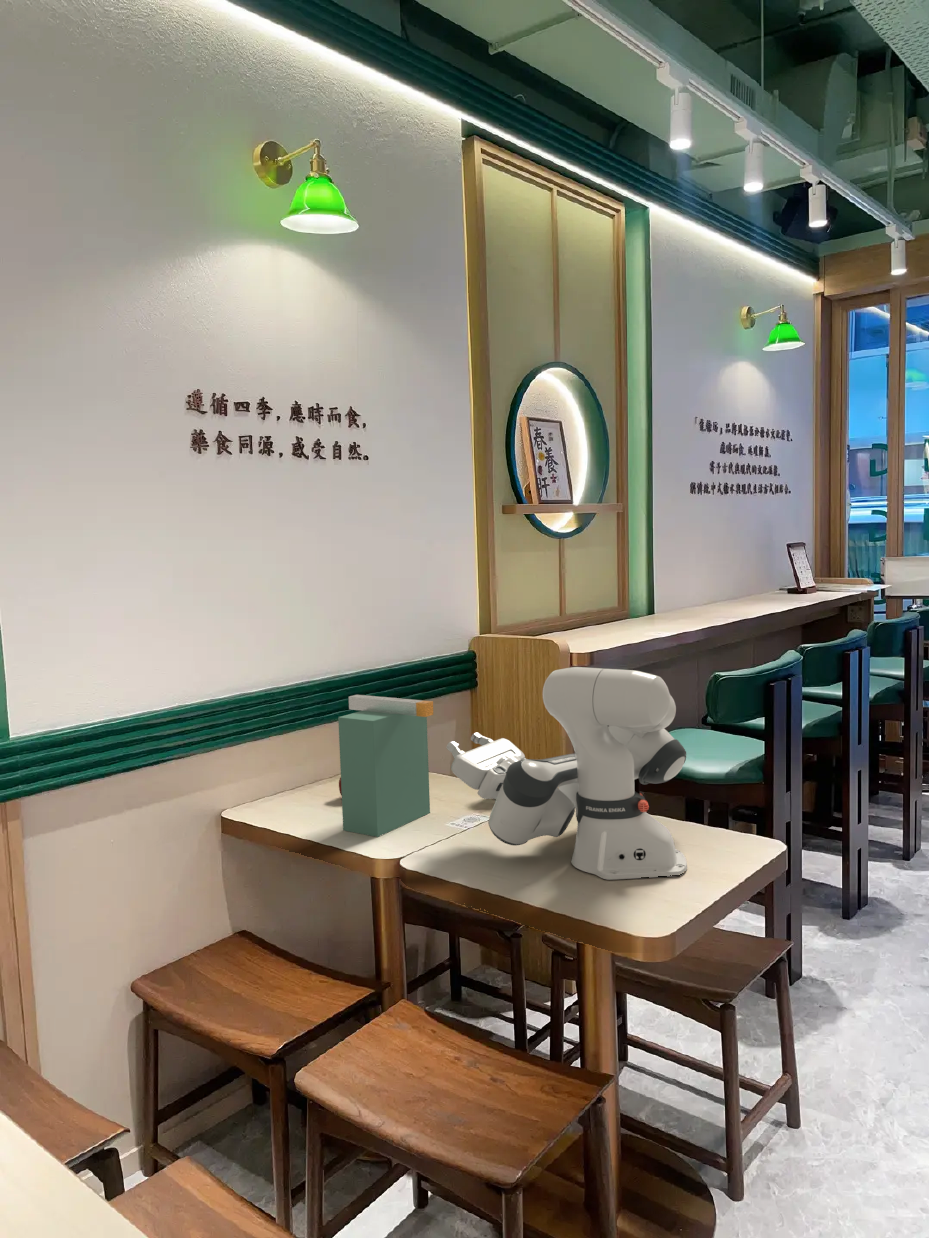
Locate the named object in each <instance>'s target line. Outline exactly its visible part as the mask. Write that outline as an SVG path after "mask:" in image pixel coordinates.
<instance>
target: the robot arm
mask: <svg viewBox="0 0 929 1238" xmlns="http://www.w3.org/2000/svg"><path fill="white" fill-rule="evenodd" d="M542 687H543V688H542V701H543V705H544V707H545V709H546V711H547V712H548V713H549V715H550V716H552V717H553V718H554V719H555V720H557V722H559V724H560V726H561V727H563V730H565V732H566V735H567V736H568V737H569V740H570V741H571V745H572V746H573V750H574V753H569V754H568V753H567V754H561V755H556V756H553V757H546V758H542V759H541V758H540V759H532V758H531V759H530V758H529V759H528V758H526V756H525V753H524V752H523V751H522V750H521V749H519V748H518V746H516V745H515V744H514V743H513V742H512V741H511V740H509V739H507V738H504V737H501V738H498V739H496V740H493V739H492V738H490V737H486V736H484V735H482V734H481V733H479V732H474V733H472V735H471V736H470V740H471V741H472V742H473V743H474V744H479V745H480V746H477V747H476V748H473V749H470V750H468V751H464V750H461V749H460V748H459V745H460V744H459V743H457V742H456V741H454V740H452V741H449V742H448V743H447V745H446V749H447V750H448V751H449V752H450V753H451V754H452V757H453V761H452V764H451V765H450V769H451V772H452V774H453V775H455V776H456V777H457V778H458V779H459V780H460V781H461V782H463V783H464V784H465V785H467V786H468V787H470V788H471V789H474V790H477V795H478V796H479V797H480V798H482V799H487V800H489V799H490V800H491V799H494V798H496V799H495V802H494V804H493V807H492V809H491V812H490V814H489V818H488V827H489V830H490V831H491V833H492V834H493V836H494V837H495V838H497V839H498V841H501V842H502V843H504V844H507V845H509V846H520V845H521V846H522V845H524V844H527V843H528V842H529V841H531V840H532V839H536V838H540V837H543V836H544V837H546V836H549V837H553V838H558V837H560V836H562V835H563V834H564V833H565V831H566V830H567V828H568V827H569V824H570V823H571V822H572V819H573V818H574V815H575V818H576V821H577V826H576V827H577V828H576V836H575V844H574V850H573V854H572V857H571V864H572V866H573V867H574V868H576V869H578V870H580V871H582V872H586V873H589V874H592V875H596V876H598V877H599V878H601V879H602V880H603V879H604V880H608V881H609V880H610V881H614V880H626V879H627V880H629V879H642V878H641V877H649V878H659V877H658V876H667V877H673V876H672V875H679V874H682V873H683V872H684V871H686V872H687V870H688V863H687V862H688V861H687V858H686V856H685V855H684V853H683V852H682V851H681V850H679V849H677V848H676V845H675V840H674V838H673V835H672V833H671V832H670V830H669V828H668V827H667V826H666V825H664V824H663V823H661V821H659V820H658V819H656V818H654V817H653V815H651V814H650V813H647V812H648V810H649V808H650V806H649V802H648V801H647V800H646V798H645V796H643V793H641V792H639V793H638V792H637V791H635V780H637V779H638V781H639V783H640V784H642V785H648V784H655V785H656V784H662V783H667V782H669V781H670V780H672V779H673V778H674V777H676V776H677V775H678V774H679V773H680V772H681V770H682V769H683V767H684V765H685V764H686V763H685V762H686V760H687V751H686V749H685V747H684V746H683V744H682V743H681V742H680V741H679V740H678V739H676V738H674V737H673V735H672V734H671V733H669V731H668V730H667V729H666V728H667V727H669V726H670V725H671V724H672V723H673V721H674V719H675V717H676V712H677V706H676V702H675V699H674V698H673V696H672V695H671V693H670V690H669V687H668V685H667V684H666V682H665V681H664V679H663V678H662V677H661V676H659V675H656V674H653V673H648V672H644V671H640V670H635V669H634V670H633V669H619V668H599V667H584V666H583V667H581V666H573V667H572V666H571V667H566V668H561V669H556V670H555V669H554V670H553V671H552V672H550V674H549V675H548V677H547V678H546V679H545V681H544V683H543V686H542ZM686 869H687V870H686ZM670 875H671V876H670ZM682 875H683V874H682Z"/></svg>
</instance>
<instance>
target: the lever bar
mask: <svg viewBox="0 0 929 1238" xmlns="http://www.w3.org/2000/svg"><path fill="white" fill-rule="evenodd" d="M348 710H352V711H353V710H354V711H371V712H381V713H391V714H401V715H411V716H421V717H427V718H428V717H430V716H433V715H434V701H433V700H432V701H431V700H422V699H411V698H401V697H400V698H399V697H398V698H397V697H390V696H389V697H387V696H375V695H367V694H366V695H365V694H354V695H350V696H348Z"/></svg>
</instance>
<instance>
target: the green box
mask: <svg viewBox="0 0 929 1238" xmlns="http://www.w3.org/2000/svg"><path fill="white" fill-rule="evenodd" d="M337 719H338V723H337V724H338V735H339V736H338V743H339V764H340V765H339V766H340V769H339V770H340V777H341V792H342V796H341V807H342V808H341V810H342V814H341V815H342V831H345V832H350V833H355V834H360V835H365V836H366V835H367V836H370V837H371V836H372V837H375V836H376V838H378V837H381V836H383V835H385V834H387V833H389V832H391V831H395V830H396V829H398V828H400V827H403V826H404V825H407V824H409V823H411V822H415V820H418V819H420V818H422V817H425V816H426V815H428V814H431V800H430V799H431V798H430V797H431V796H430V777H429V776H430V773H429V768H430V767H429V747H428V746H429V744H428V743H429V742H428V739H429V738H428V716H427V717H421V716H411V715H401V714H391V713H381V712H371V711H361V710H358V711H355V712H353V713H349V714H346V715H342V716H338V718H337ZM382 834H383V835H382ZM380 835H381V836H380Z"/></svg>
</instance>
